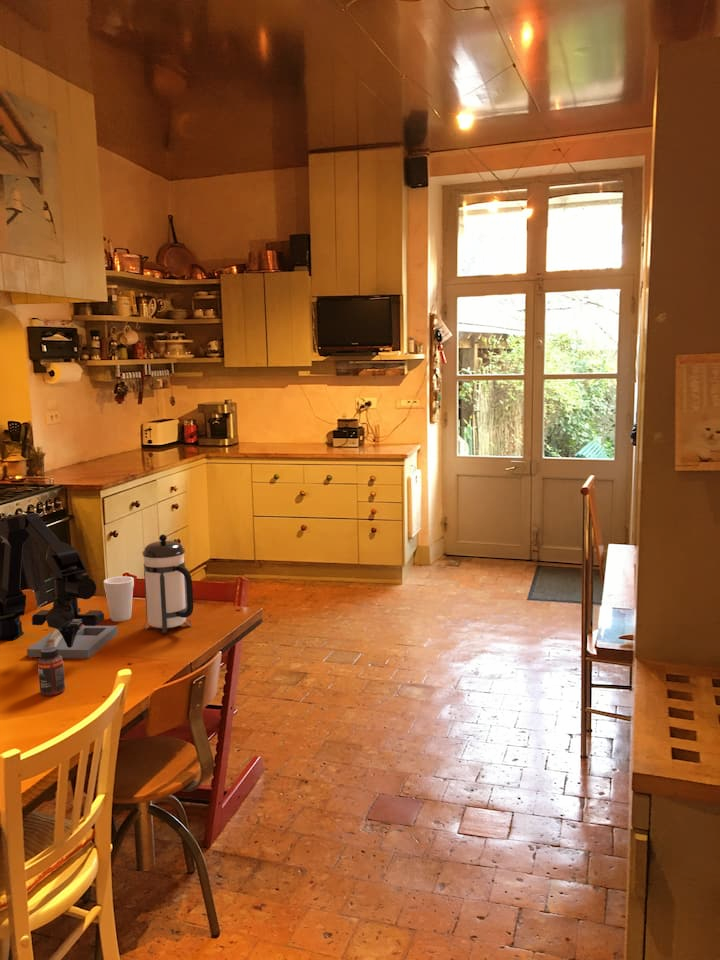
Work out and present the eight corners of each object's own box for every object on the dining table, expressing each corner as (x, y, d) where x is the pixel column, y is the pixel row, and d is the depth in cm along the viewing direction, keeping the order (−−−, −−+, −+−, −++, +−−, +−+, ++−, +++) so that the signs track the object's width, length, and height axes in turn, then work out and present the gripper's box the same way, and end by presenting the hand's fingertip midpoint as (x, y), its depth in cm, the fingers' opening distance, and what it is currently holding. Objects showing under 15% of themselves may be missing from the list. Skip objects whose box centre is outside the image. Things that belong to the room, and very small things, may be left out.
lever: (46, 652, 214) (45, 640, 213) (64, 625, 237) (63, 614, 237) (54, 652, 214) (53, 639, 214) (70, 624, 237) (70, 613, 237)
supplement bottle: (68, 686, 197) (65, 644, 196) (60, 696, 191) (57, 652, 190) (45, 687, 197) (42, 645, 195) (36, 697, 191) (32, 653, 190)
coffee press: (137, 637, 234) (131, 540, 230) (149, 620, 250) (144, 530, 246) (194, 635, 235) (189, 539, 231) (203, 619, 250) (198, 529, 246)
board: (27, 657, 218) (26, 649, 218) (61, 633, 239) (61, 625, 239) (88, 658, 217) (87, 650, 217) (117, 633, 238) (117, 625, 237)
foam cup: (126, 623, 247) (124, 584, 246) (100, 622, 249) (98, 583, 247) (140, 614, 257) (138, 576, 255) (115, 613, 258) (113, 575, 257)
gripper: (19, 601, 207) (23, 657, 209) (86, 602, 206) (89, 658, 208) (39, 590, 218) (43, 642, 220) (103, 590, 217) (106, 643, 219)
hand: (70, 647), depth 216 cm, fingers closed
